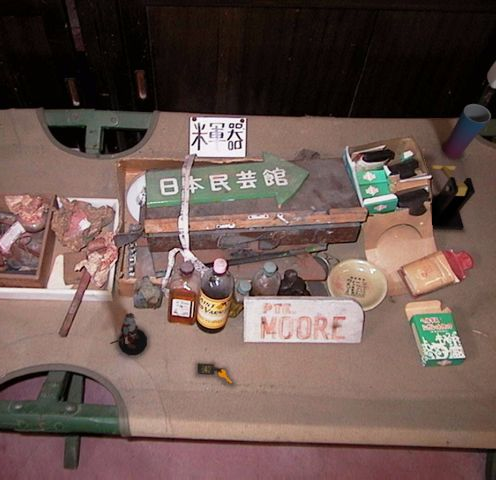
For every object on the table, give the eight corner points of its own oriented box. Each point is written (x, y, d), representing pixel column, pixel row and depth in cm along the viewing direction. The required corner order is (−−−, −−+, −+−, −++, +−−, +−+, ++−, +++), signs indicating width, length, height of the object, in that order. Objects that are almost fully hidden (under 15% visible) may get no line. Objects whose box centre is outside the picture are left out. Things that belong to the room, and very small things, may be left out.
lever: (429, 169, 140) (432, 161, 139) (452, 170, 140) (455, 162, 139) (447, 195, 130) (450, 187, 128) (472, 196, 130) (475, 187, 128)
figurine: (142, 359, 119) (138, 335, 106) (112, 351, 120) (104, 326, 107) (150, 332, 123) (147, 305, 110) (121, 324, 124) (114, 297, 111)
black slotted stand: (419, 197, 142) (439, 167, 131) (453, 198, 142) (476, 168, 131) (427, 228, 137) (448, 200, 126) (461, 230, 137) (486, 201, 126)
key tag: (195, 373, 118) (195, 372, 117) (199, 360, 119) (199, 359, 118) (231, 383, 116) (231, 383, 116) (234, 371, 118) (235, 370, 117)
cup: (466, 146, 152) (492, 108, 139) (462, 163, 148) (489, 126, 136) (442, 139, 153) (466, 100, 140) (437, 155, 150) (461, 117, 137)
